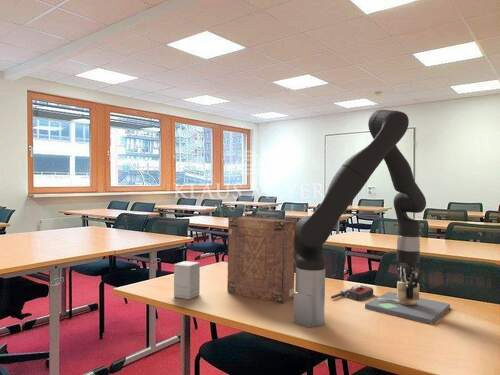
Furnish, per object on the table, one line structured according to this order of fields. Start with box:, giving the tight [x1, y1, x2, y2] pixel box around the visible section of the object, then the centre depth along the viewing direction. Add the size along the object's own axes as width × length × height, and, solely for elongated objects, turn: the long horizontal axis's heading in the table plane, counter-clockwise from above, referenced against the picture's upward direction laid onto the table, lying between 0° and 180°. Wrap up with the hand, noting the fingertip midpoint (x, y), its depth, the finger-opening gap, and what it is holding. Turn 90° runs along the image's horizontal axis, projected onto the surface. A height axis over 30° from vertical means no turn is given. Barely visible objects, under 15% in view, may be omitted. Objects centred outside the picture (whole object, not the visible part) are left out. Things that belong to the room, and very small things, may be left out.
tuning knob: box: [377, 280, 420, 306], centre depth 134 cm, size 14×6×7 cm, turn 75°
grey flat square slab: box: [364, 291, 451, 325], centre depth 133 cm, size 22×22×2 cm
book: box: [226, 215, 296, 304], centre depth 146 cm, size 25×9×30 cm, turn 57°
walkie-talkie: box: [330, 284, 374, 302], centre depth 146 cm, size 9×4×20 cm
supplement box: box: [173, 260, 201, 300], centre depth 143 cm, size 7×7×13 cm
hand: (406, 296), depth 133 cm, fingers closed on tuning knob, 3 cm apart
